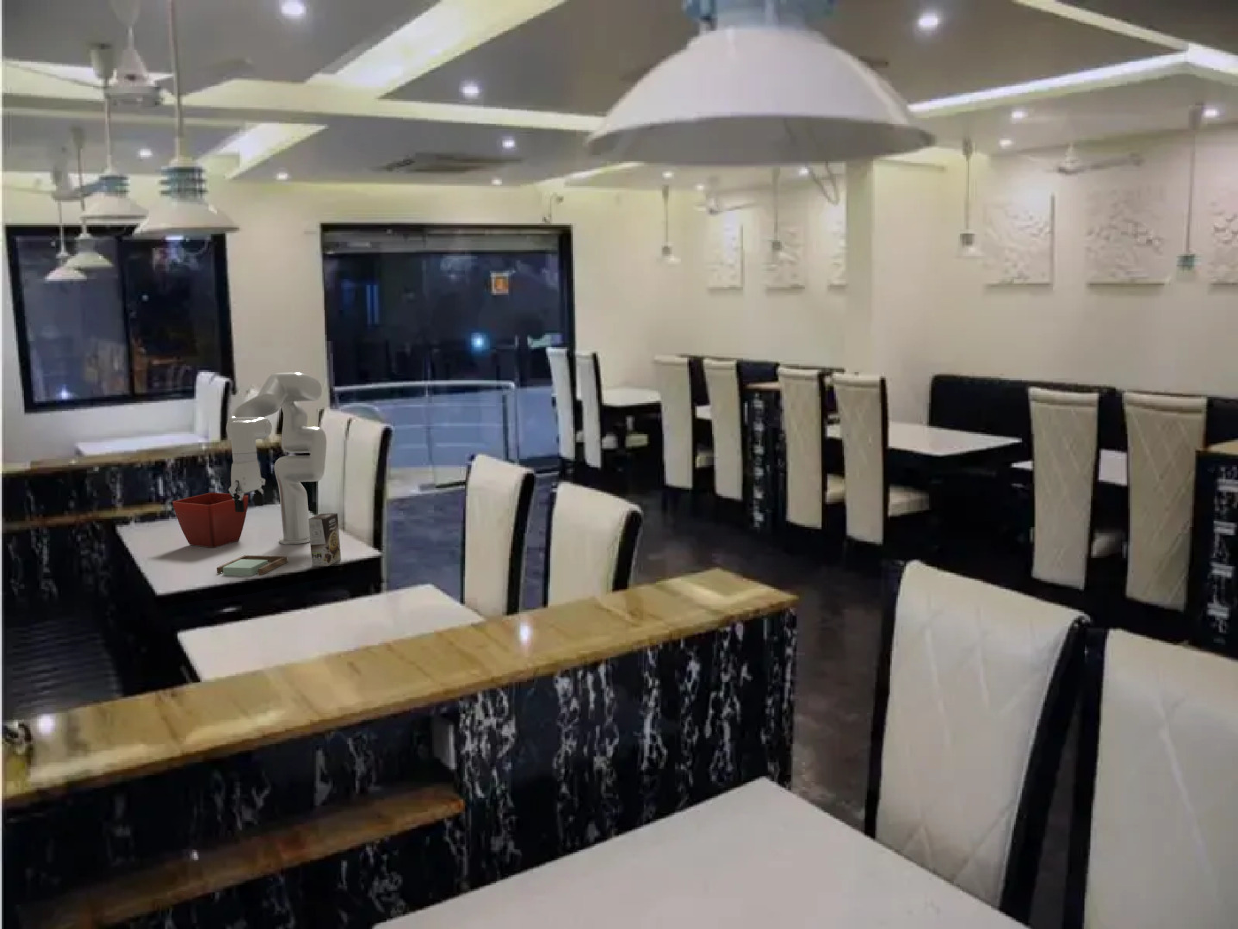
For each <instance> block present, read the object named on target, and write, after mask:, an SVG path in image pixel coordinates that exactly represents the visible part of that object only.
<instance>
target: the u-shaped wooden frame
mask: <svg viewBox="0 0 1238 929" xmlns="http://www.w3.org/2000/svg"><path fill="white" fill-rule="evenodd" d="M240 559H249V560H268V564H267V565H265V566H263V567H261V568H259V569H258V573H257V574H258V576H263V575H265V574H266V573H269V572H271V571H272V570H275V569H276V568H278V567H280V565H281V566H282V564H283V565H285V564H287V563H288V556H284V555H256V554H255V555H253V554H252V555H250V554H249V555H248V554H247V555H246V554H244V555H242V556H240V557H238V558H235V559H233V560H231V561H229V562H226V563H224V564H222V565H219V566H217V567H216V574H217V573H220V574H222V573H221V572H223V567H224V566H227V565H229V564H231V563H233V562H236V561H238V560H240Z"/></svg>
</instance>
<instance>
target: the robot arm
mask: <svg viewBox="0 0 1238 929" xmlns="http://www.w3.org/2000/svg"><path fill="white" fill-rule="evenodd" d="M322 392H323V388H322V384H321V381H320V380H319V379H318V378H316V377H314V376H312V375H309V374H305V373H302V372H275V373H272V374H270V375H269V376H268V377H267V379H266V381H265V383H264V384H263V386H262V387H261V389H260V391H259V392H258V393H257V396H255V397H253V398H250V399H249V400H248V401H246V402H245V401H244V403H241V404H240V405H238V406H237V407H236V408H234V410H233V412H232V413H231V414H230V417H229V418H228V420H227V423H226V427H225V429H226V430H225V431H226V434H227V435H228V437H229V438H230V442H231V443H230V444H231V454H232V463H231V469H230V470H231V471H230V481H231V482H230V483H231V484H230V485H231V486H229V488H228V492H229V494H231V497H232V498H233V500H234V502H235V511H236V512H244V511H245V509H244V500H242V498H243V496H244V495H245V494H249V493H251V492H253V504H254V506H255V507H263V506H264V496H263V494H264V490H265V485H266V479H265V478H263V477H262V475H261V469H260V465H259V461H258V454H257V441H256V440H265V439H267V438H268V437H270V436H271V434H272V431H273V426H272V423H271V421H270V419H268V418H266V417H268V416H270V415H274V414H276V413H277V412H279V410H280V409H281V411H282V413H283V414H282V418H283V419H282V420H283V421H282V429H281V448H282V450H283V451H285V452H286V453H290V454H291V453H292V454H293V453H294V454H304V453H305V454H306V453H307V454H308V453H309V455H285V456H280V457H279V458H278V459H277V460H275V463H274V469H273V470H274V474H275V478H276V482H277V486H278V492H279V502H280V514H281V526H282V535H283V536H281V537H280V538H279V539H278V541H279V543H280V544H283V545H299V544H305V543H310V532H309V519H310V517H309V516H310V515H309V505H308V504H309V503H308V493H307V490H306V488H305V487H304V486H303V484H302V483H304V482H305V483H306V482H307V483H308V482H309V483H310V482H319V481H321V480H322V479H323V477H324V475H325V468H326V456H327V435H326V433H325V430H323V428H322V427H319V426H308V413H307V411H306V409H305V408H304V407H303V405H302V404H301V403H300V402H315V401H317V400H319V399H320V398H321V396H322Z"/></svg>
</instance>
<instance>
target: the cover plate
mask: <svg viewBox="0 0 1238 929" xmlns="http://www.w3.org/2000/svg"><path fill="white" fill-rule="evenodd" d="M267 564H269V562H268V560H249V559H240V560H238V561H236V562H233V563H231V564H229V565H227V566H224V567H223V573H222V574H223V575H224V574H225V575H224V576H243V575H252V576H254V575H256V574H257V573H256V572H258V569H259V568H261V567H263V566H265V565H267ZM255 573H256V574H255ZM253 574H254V575H253Z"/></svg>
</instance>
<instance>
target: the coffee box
mask: <svg viewBox="0 0 1238 929" xmlns="http://www.w3.org/2000/svg"><path fill="white" fill-rule="evenodd" d="M309 532H310V542H309V543H310V555H311V566H315V567H316V566H317V567H319V566H321V567H328V566H331V565H333V564H335V563H336V562H338V561H340V560H342V554H341V553H342V552H341V542H340V529H339V516H338V513H336V512H335V513H330V512H329V513H328V512H327V513H320V514H316V515H314V516H312V517H309Z"/></svg>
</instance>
